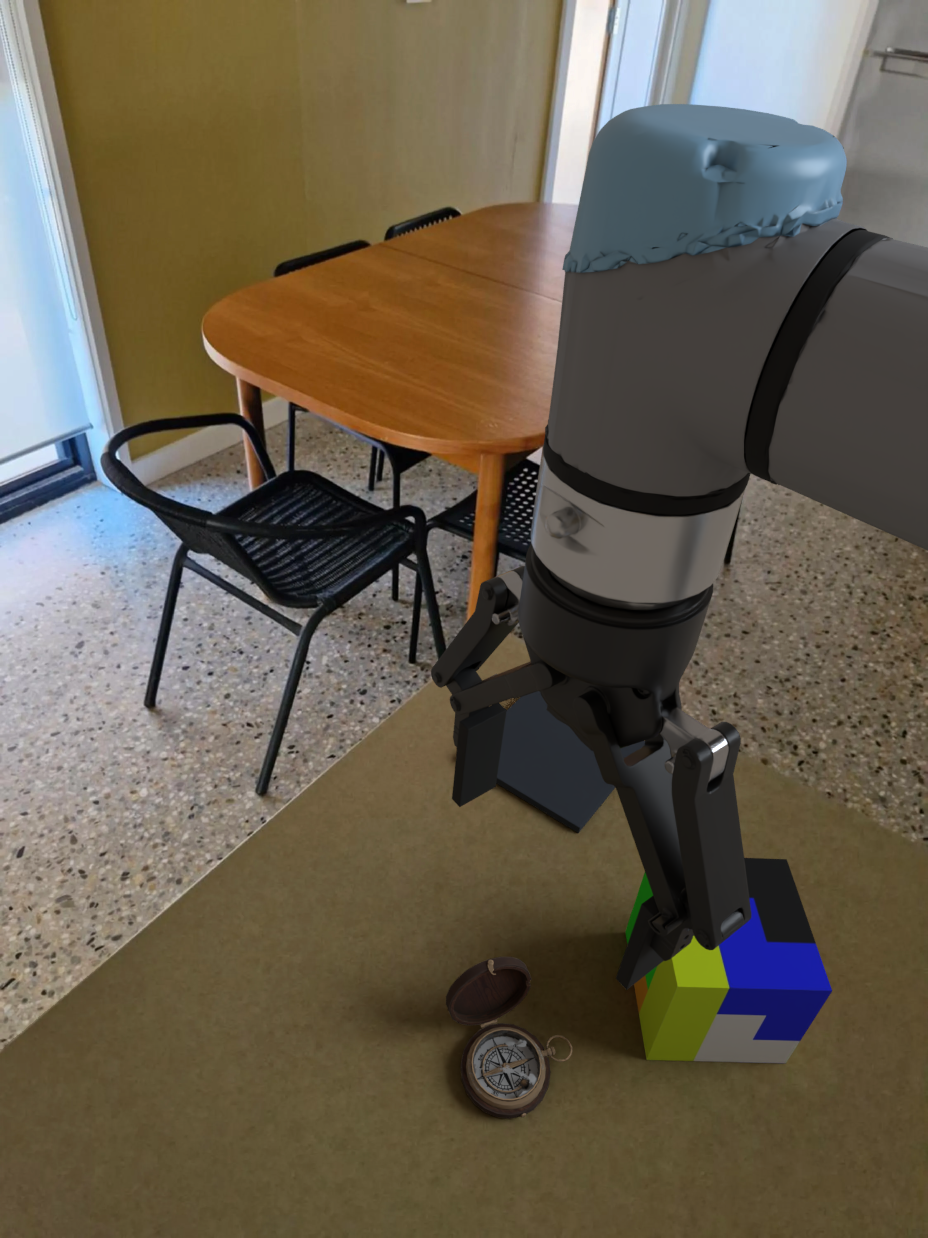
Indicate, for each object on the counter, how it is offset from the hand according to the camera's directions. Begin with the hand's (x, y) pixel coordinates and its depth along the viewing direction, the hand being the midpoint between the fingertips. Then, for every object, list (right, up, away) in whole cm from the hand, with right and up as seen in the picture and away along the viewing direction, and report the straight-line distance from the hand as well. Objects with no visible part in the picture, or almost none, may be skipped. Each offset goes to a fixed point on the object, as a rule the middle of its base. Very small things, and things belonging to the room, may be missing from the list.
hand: (549, 874), depth 49 cm
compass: (-1, -17, +13) cm, 22 cm away
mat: (+4, +1, +36) cm, 36 cm away
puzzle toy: (+13, -14, +18) cm, 26 cm away
